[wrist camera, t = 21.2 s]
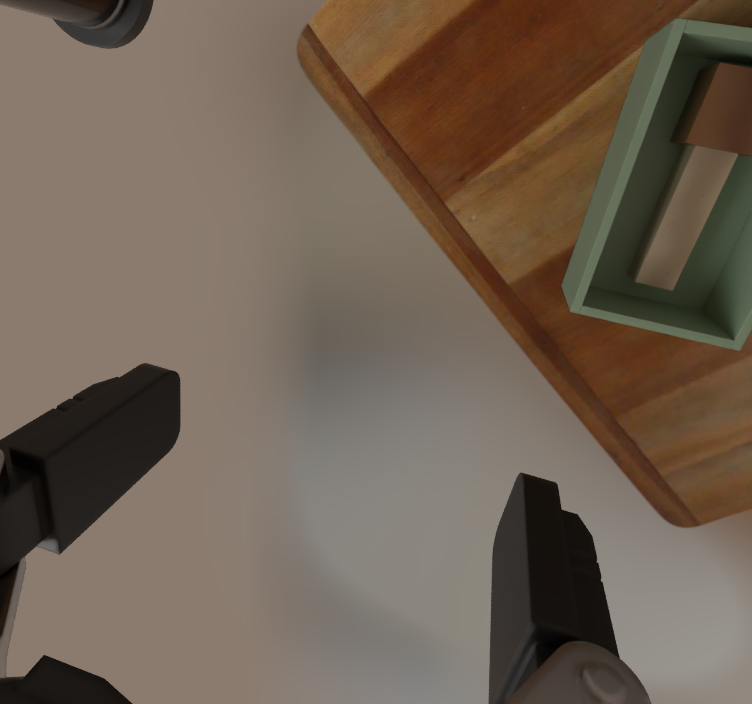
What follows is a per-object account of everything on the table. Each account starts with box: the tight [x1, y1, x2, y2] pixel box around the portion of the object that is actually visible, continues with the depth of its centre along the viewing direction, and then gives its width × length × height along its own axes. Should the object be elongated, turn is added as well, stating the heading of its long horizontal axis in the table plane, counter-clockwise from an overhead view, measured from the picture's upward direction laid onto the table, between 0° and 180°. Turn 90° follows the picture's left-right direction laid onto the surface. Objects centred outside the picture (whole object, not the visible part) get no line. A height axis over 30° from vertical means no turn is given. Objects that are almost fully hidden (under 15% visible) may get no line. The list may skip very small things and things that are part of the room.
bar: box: [628, 62, 752, 291], centre depth 37 cm, size 5×16×4 cm, turn 169°
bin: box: [562, 18, 752, 351], centre depth 36 cm, size 12×19×8 cm, turn 170°
